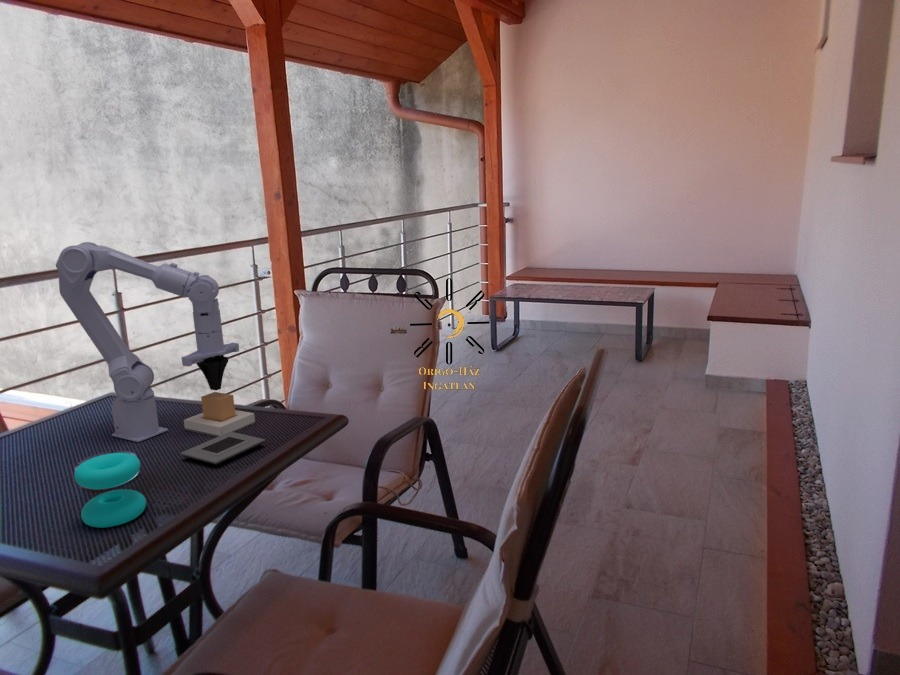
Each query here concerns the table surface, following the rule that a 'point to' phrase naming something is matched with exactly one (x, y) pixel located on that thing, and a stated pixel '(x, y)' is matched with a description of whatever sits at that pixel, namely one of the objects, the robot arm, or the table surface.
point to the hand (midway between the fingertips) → (215, 389)
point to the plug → (218, 406)
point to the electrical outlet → (222, 448)
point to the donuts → (114, 503)
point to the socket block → (219, 424)
